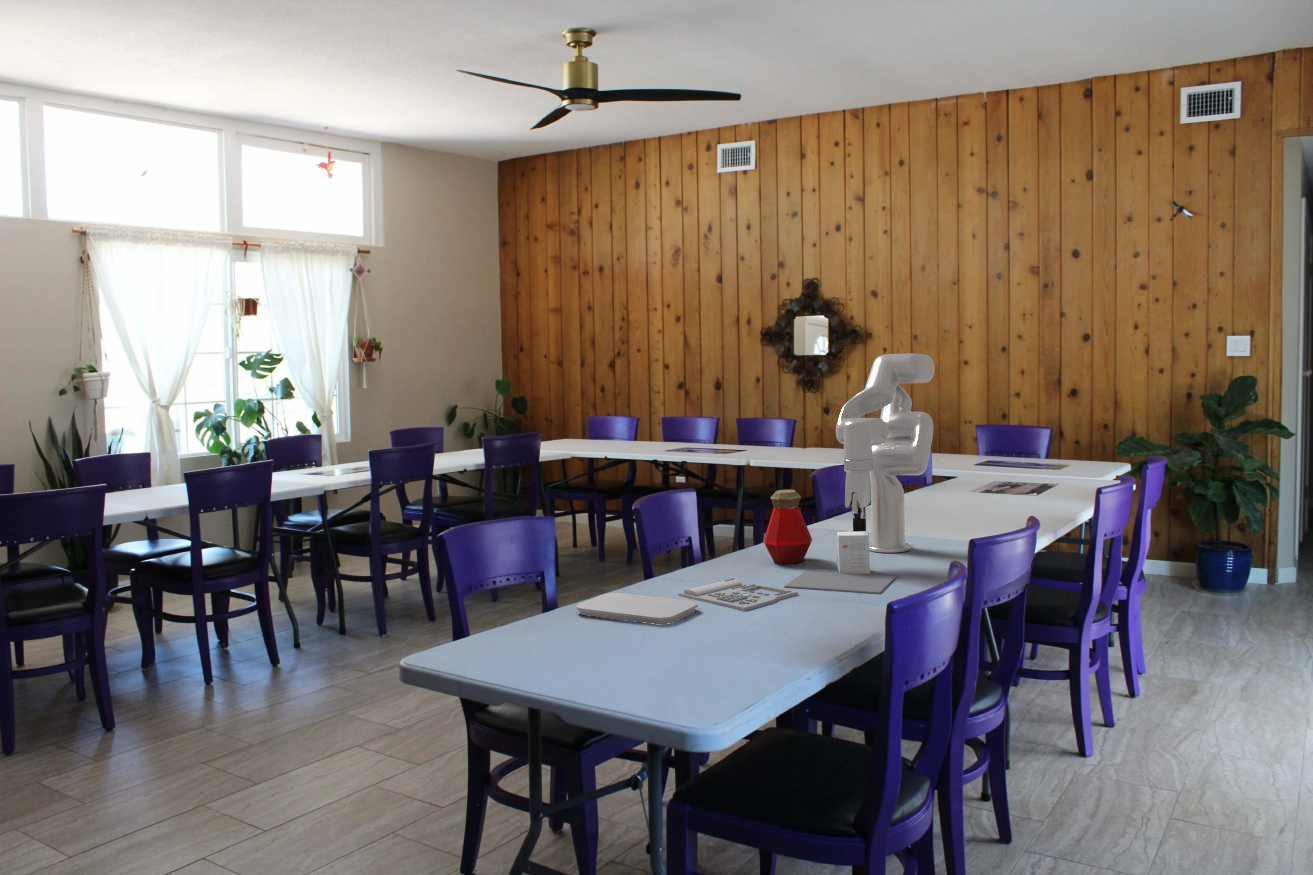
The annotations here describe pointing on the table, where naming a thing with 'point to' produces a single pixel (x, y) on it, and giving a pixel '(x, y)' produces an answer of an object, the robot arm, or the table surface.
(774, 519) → the bottle
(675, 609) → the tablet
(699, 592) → the office telephone
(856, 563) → the small box
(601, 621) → the table surface
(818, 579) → the mat
